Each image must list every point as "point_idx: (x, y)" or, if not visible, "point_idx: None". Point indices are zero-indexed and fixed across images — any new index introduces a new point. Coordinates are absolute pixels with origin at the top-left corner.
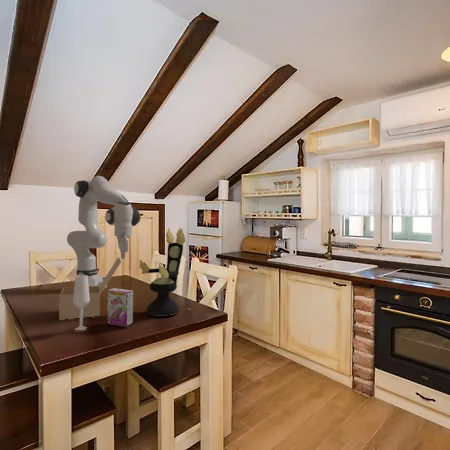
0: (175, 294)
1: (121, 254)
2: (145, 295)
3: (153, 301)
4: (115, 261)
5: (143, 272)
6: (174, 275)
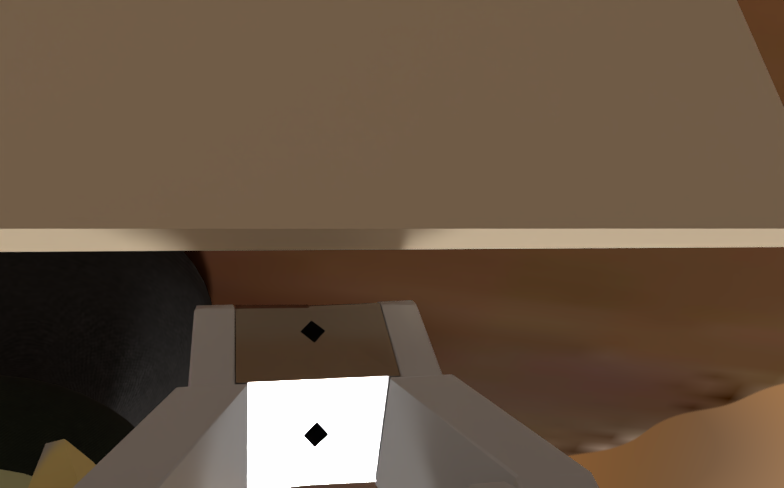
0: (569, 450)
1: (131, 436)
2: (670, 248)
3: (24, 308)
4: (755, 75)
5: (34, 481)
6: None
